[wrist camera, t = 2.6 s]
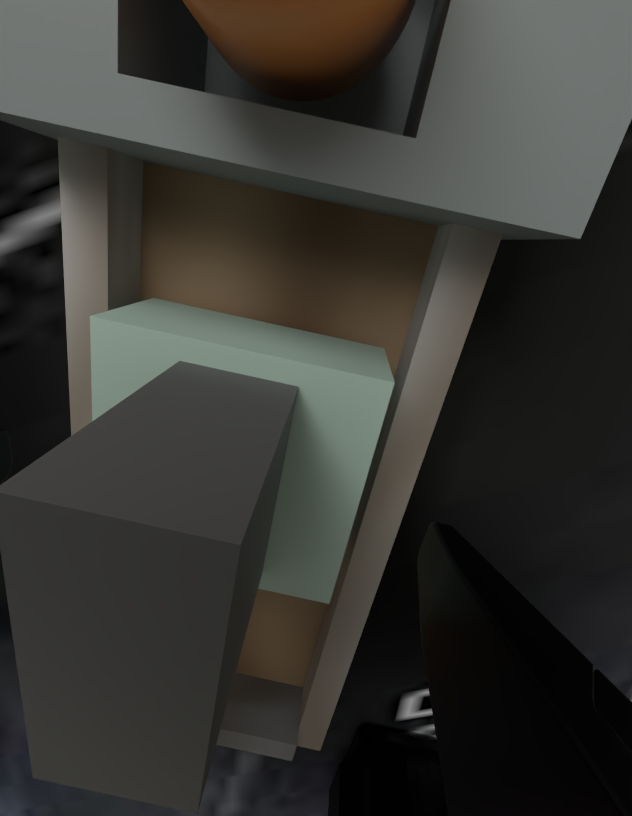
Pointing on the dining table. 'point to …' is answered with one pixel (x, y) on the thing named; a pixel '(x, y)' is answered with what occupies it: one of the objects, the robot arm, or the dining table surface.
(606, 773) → the robot arm
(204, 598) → the carriage
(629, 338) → the dining table surface
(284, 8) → the button
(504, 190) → the cabinet
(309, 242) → the rail board
